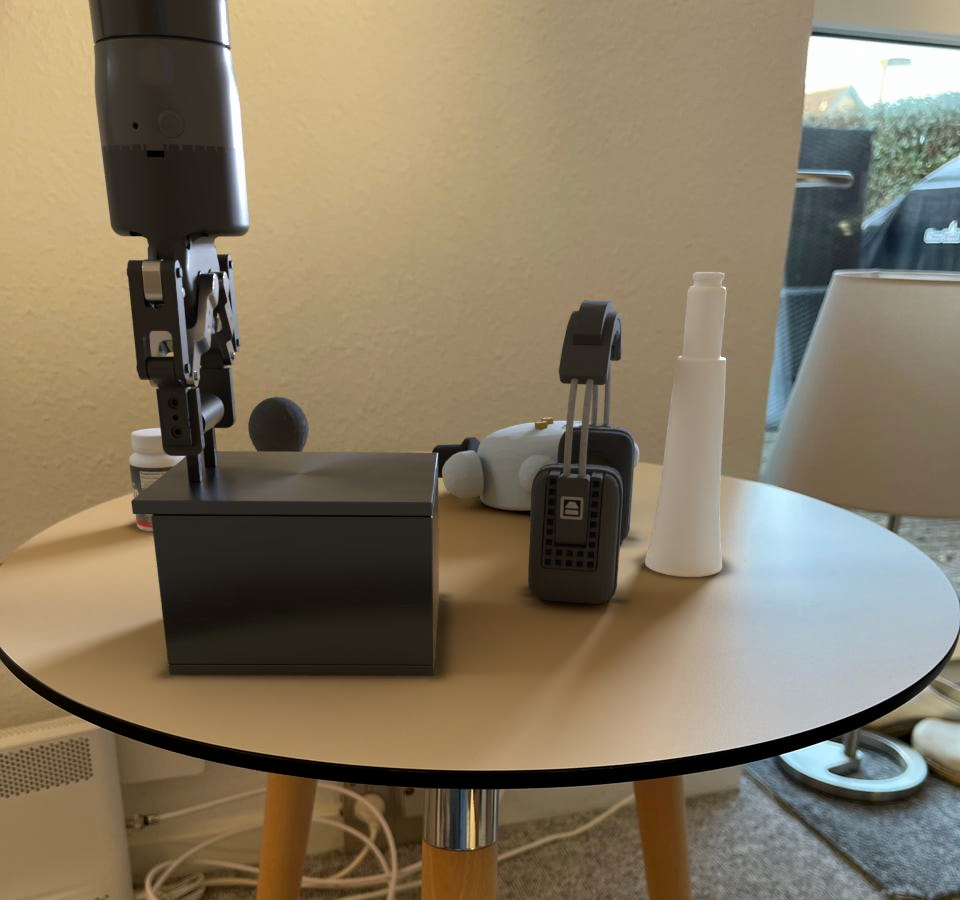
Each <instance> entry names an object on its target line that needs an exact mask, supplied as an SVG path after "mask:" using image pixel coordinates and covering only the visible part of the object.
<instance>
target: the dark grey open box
mask: <svg viewBox="0 0 960 900" xmlns="http://www.w3.org/2000/svg"><path fill="white" fill-rule="evenodd" d="M151 519H152V528H153V531H152V535H153V536H152V537H153V545H154V553H155V563H156V571H157V578H158V588H159V596H160V605H161V615H162V622H163V630H164V631H163V632H164V640H165V649H166V657H167V664H168V665H167V667H168V674H169V676H316V677H317V676H321V677H324V676H325V677H326V676H330V677H332V676H335V677H337V676H338V677H339V676H340V677H343V676H345V677H346V676H347V677H348V676H349V677H350V676H351V677H352V676H353V677H354V676H355V677H359V676H360V677H366V676H367V677H368V676H369V677H384V676H385V677H402V676H403V677H433V676H434V674H435V663H436V662H435V660H436V648H437V647H436V646H437V634H438V633H437V632H438V617H439V606H440V605H439V604H440V556H439V554H440V536H439V535H440V534H439V533H440V530H439V529H440V528H439V527H440V524H439V478H438V469H437V478H436V487H435V495H434V504H433V512H432V516H349V515H182V514H153V515H152V516H151Z"/></svg>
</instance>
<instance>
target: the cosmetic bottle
mask: <svg viewBox="0 0 960 900" xmlns="http://www.w3.org/2000/svg"><path fill="white" fill-rule="evenodd" d="M692 280H693V285H691V286H689V287H688V289H687V293H686V305H685V317H684V330H683V343H682V353H681V355H678V356H677V357H676V359H675V366H674V372H673V373H674V374H673V381H672V387H671V396H670V403H669V404H670V405H669V411H668V420H667V429H666V436H665V437H666V438H665V445H664V451H663V452H664V454H663V460H662V470H661V475H660V484H659V491H658V497H657V503H656V510H655V514H654V515H655V516H654V521H653V525H652V532H651V536H650V540H649V544H648V547H647V551H646V556H645V558H644V559H645V560H644V564H645V566H646V567H647V568H648V569H650V570H651V571H653V572H656V573H659V574H662V575H667V576H673V577H682V578H699V577H702V578H703V577H707V576H713V575H716V574H718V573H720V572H721V571H722V570H723V559H722V558H723V557H722V546H721V545H722V543H721V511H720V510H721V477H722V456H723V439H724V438H723V437H724V419H725V418H724V417H725V400H726V399H725V397H726V376H727V375H726V374H727V373H726V372H727V358H726V357H723V356H722V346H723V337H724V326H725V314H726V307H727V306H726V305H727V294H728V293H727V288H726V287H725V286H723V281H724V280H725V273H724V272H722V271H721V272H720V271H719V272H718V271H696V272H692Z"/></svg>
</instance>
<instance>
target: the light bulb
mask: <svg viewBox="0 0 960 900" xmlns="http://www.w3.org/2000/svg"><path fill="white" fill-rule="evenodd" d="M247 424H248V425H247V426H248V428H247V429H248V435H249V439H250V441H251V444H252V446H253V447H254V449H255V450H256V451H265V452H304V448H305V446H306V444H307V441H308V438H309V431H310V426H309V422H308V417H307V415H306V413H305V412H304V410H303V409H302V408H301V406H299V405H298V404H297V403H296V402H295V401H293V400H291V399H289V398H287V397H283V396H272V397H267V398H265V399H263V400H262V401H260V402H258V404H257V405H256V406H255V407H254V408H253V409H252V411H251V413H250V415H249V418H248V423H247Z"/></svg>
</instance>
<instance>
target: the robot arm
mask: <svg viewBox="0 0 960 900" xmlns="http://www.w3.org/2000/svg"><path fill="white" fill-rule="evenodd" d="M88 8H89V16H90V26H91V32H92V33H91V34H92V40H93V41H92V42H93V44H94V45H93V50H94V97H95V106H96V116H97V124H98V132H99V140H100V149H101V155H102V165H103V172H104V173H103V174H104V181H105V190H106V197H107V204H108V214H109V221H110V222H109V223H110V227H111V229H112V231H113V232H114V233H115V234H116V235H118V236H121V237H142V238H144V239H146V241H147V245H148V246H147V259H146V258H145V259H129V260H128V261H127V265H126V276H127V281H128V291H129V300H130V312H131V321H132V322H131V323H132V330H133V340H134V349H135V358H136V360H135V361H136V366H135V367H136V368H135V369H136V373H137V375H138V378H139V379H140V381H149V384H150V385H149V386H151V387H152V388H156V389H155V392H156V393H155V394H156V402H157V409H158V410H157V411H158V419H159V428H160V429H161V437H162V446H163V450H164V452H165V453H166V454H168V455H170V456H185V457H186V456H197V455H199V454H200V453H201V452H202V451H203V450H204V448H205V442H204V432H203V422H202V412H201V402H200V394H202V393H211V394H214V395H216V396H217V397H218V398H219V399H220V400H221V401H222V403H223V406H224V415H223V418H222V419H221V421H219V422H218V423H217V424H216V425H215V429H229V428H231V427H232V426H234V425H235V424H236V421H237V415H236V405H235V403H236V402H235V391H234V380H233V369H232V367H234V365H235V361H236V359H237V355H236V353H239V352H240V347H241V344H242V343H241V339H240V334H239V325H238V322H239V321H238V313H237V303H236V294H235V293H236V291H235V282H234V272H233V271H234V270H233V269H234V261H233V260H232V257H231V254H230V253H218V252H217V247H216V245H215V241H216V239H217V238H219V237H220V238H222V237H223V238H227V237H228V238H230V237H231V238H232V237H234V238H235V237H239V238H240V237H243V236H245V235H247V233H248V232H249V230H250V216H249V203H248V191H247V190H248V189H247V188H248V187H247V178H246V177H247V175H246V164H245V163H246V162H245V147H244V136H243V123H242V122H243V121H242V110H241V101H240V100H241V99H240V94H239V88H238V87H239V86H238V82H237V77H236V74H235V68H234V61H233V52H232V51H231V50H232V41H231V27H230V17H229V2H228V0H88ZM170 353H172V354H173V356H170V355H168V354H170ZM167 355H168V356H167Z"/></svg>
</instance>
